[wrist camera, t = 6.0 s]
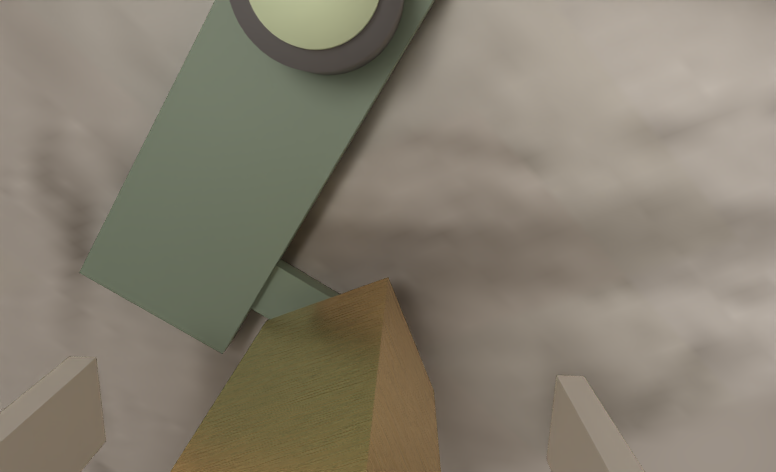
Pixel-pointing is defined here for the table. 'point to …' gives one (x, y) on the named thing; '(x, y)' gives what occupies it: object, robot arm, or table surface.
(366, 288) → the knob
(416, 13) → the base plate
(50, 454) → the robot arm
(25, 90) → the table surface
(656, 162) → the table surface
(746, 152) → the table surface
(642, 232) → the table surface
